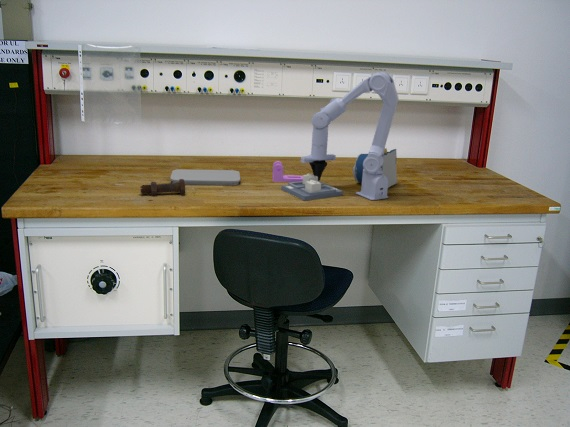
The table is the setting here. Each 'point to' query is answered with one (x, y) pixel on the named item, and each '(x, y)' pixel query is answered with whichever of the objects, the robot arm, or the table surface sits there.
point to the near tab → (312, 186)
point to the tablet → (206, 177)
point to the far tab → (309, 178)
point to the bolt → (164, 188)
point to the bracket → (280, 177)
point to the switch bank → (300, 192)
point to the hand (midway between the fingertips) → (317, 180)
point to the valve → (387, 167)
